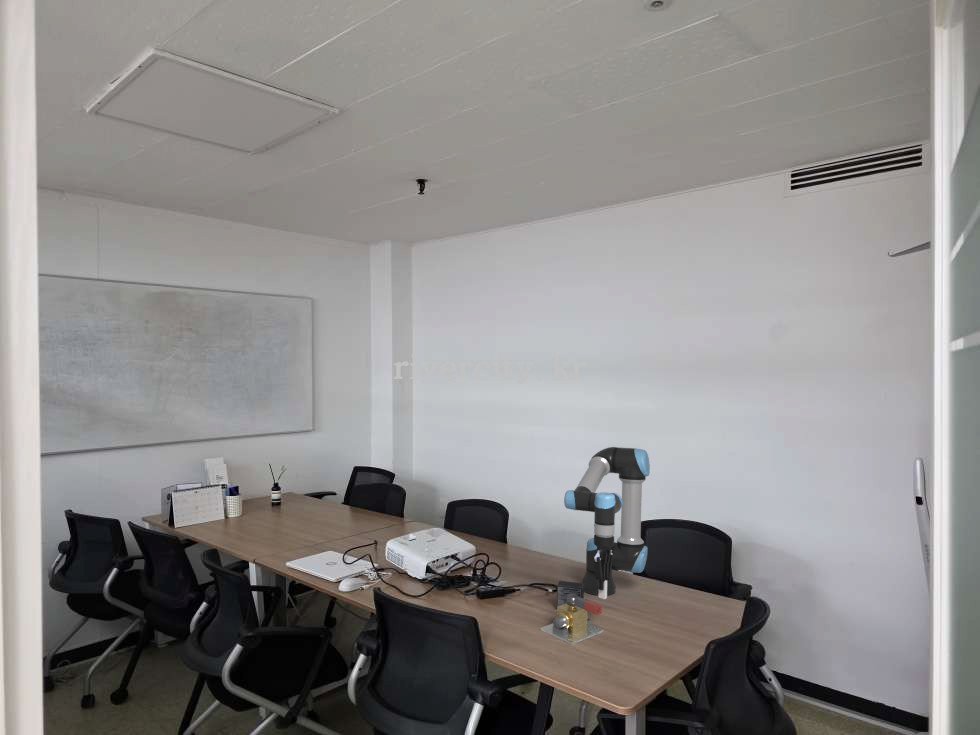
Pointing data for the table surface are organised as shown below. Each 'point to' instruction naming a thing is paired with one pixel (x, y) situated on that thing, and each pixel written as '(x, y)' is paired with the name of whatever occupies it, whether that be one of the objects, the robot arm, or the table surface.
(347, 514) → the table surface
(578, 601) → the lever
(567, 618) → the valve body
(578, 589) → the small box
